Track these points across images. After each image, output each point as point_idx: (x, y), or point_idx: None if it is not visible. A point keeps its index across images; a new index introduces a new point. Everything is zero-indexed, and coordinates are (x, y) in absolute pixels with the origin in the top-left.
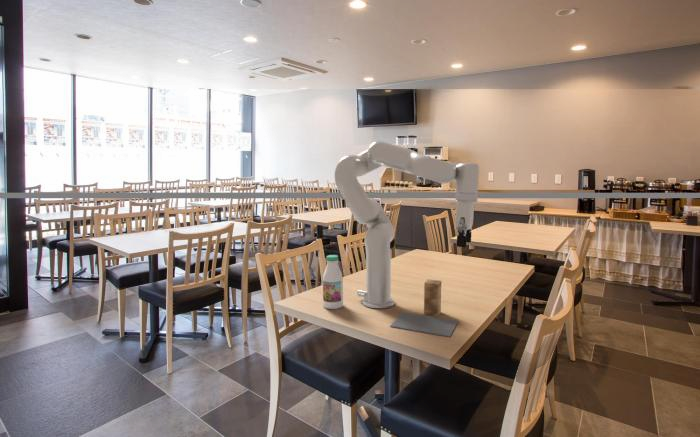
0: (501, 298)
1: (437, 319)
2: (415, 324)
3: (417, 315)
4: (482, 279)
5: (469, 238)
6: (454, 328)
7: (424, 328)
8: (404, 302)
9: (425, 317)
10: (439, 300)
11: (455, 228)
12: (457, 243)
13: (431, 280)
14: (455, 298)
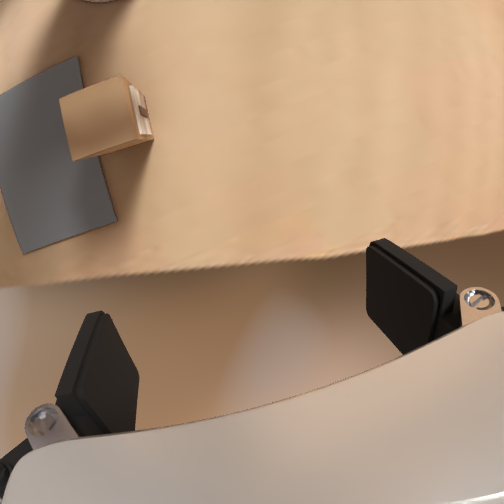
0: None
1: (82, 170)
2: (19, 145)
3: None
4: (487, 149)
5: (384, 327)
6: (67, 237)
7: (14, 180)
8: (170, 5)
9: None
10: (121, 147)
11: (32, 452)
12: (84, 335)
13: (110, 99)
14: (313, 123)
